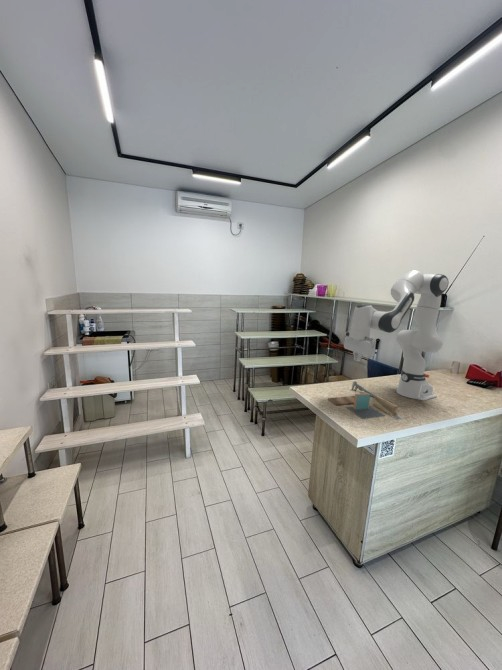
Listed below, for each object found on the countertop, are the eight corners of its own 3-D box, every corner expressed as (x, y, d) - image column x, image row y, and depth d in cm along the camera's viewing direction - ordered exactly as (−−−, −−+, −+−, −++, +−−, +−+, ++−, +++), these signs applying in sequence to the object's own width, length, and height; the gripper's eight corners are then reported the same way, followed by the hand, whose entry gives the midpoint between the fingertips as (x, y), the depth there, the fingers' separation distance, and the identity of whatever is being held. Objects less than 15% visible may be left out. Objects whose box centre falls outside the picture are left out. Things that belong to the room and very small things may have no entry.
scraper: (379, 405, 139) (381, 396, 138) (404, 419, 124) (406, 409, 123) (372, 405, 138) (373, 397, 137) (396, 420, 122) (398, 410, 122)
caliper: (351, 389, 160) (352, 380, 159) (352, 389, 161) (353, 380, 160) (382, 402, 143) (384, 391, 142) (383, 401, 144) (385, 391, 143)
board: (357, 397, 148) (358, 395, 148) (367, 403, 140) (367, 401, 140) (327, 400, 142) (327, 398, 142) (336, 406, 135) (336, 404, 134)
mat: (368, 406, 137) (368, 405, 137) (385, 416, 126) (385, 416, 125) (346, 408, 133) (346, 407, 133) (362, 419, 122) (362, 418, 122)
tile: (366, 407, 134) (368, 392, 133) (368, 408, 133) (370, 394, 131) (353, 408, 132) (355, 394, 131) (355, 410, 130) (357, 395, 129)
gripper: (380, 338, 124) (376, 366, 126) (352, 331, 143) (349, 355, 145) (369, 339, 122) (365, 366, 124) (343, 332, 141) (340, 356, 144)
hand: (357, 360), depth 135 cm, fingers closed
